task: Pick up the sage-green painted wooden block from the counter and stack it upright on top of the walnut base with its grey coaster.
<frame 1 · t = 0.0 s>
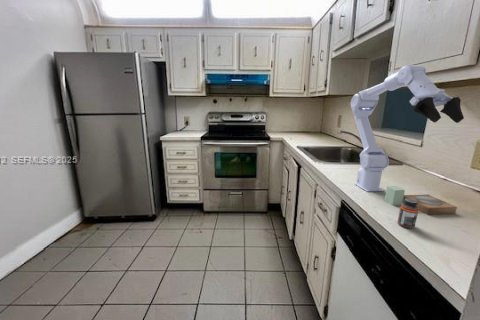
hand: (449, 120, 67), 32 cm above the worktop, tool tilted 50°, fingers open, 7 cm apart
walnut base: (426, 207, 84), on the worktop
supplement bottle: (405, 225, 71), on the worktop
sage block: (392, 202, 87), on the worktop
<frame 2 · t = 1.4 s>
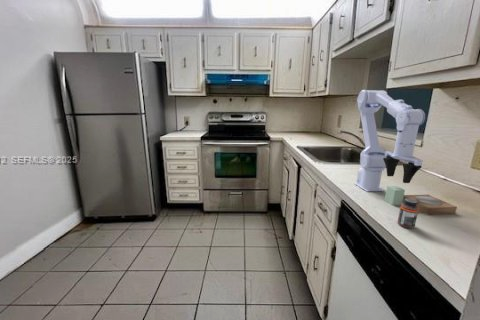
hand: (397, 179, 85), 9 cm above the worktop, tool pointing down, fingers open, 7 cm apart
nothing on the worktop moved.
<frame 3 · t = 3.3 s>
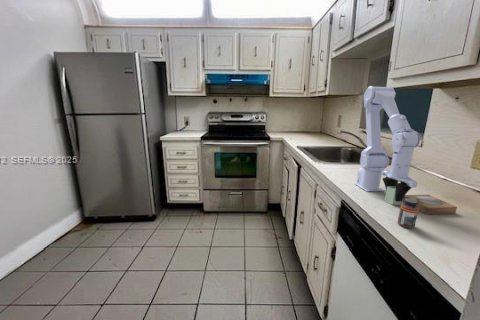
hand: (393, 198, 87), 2 cm above the worktop, tool pointing down, fingers closed on sage block, 4 cm apart
sage block: (392, 202, 87), on the worktop, touching gripper
everything else where it was.
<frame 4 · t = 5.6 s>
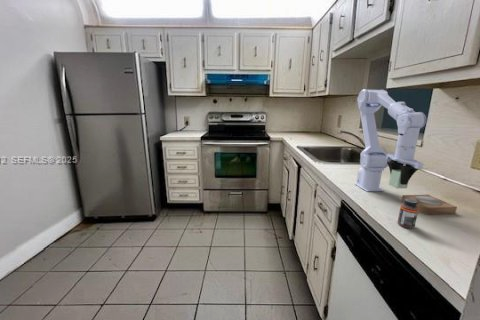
hand: (398, 182, 85), 8 cm above the worktop, tool pointing down, fingers closed on sage block, 4 cm apart
sage block: (397, 186, 86), point 7 cm above the worktop, touching gripper
everything else where it was.
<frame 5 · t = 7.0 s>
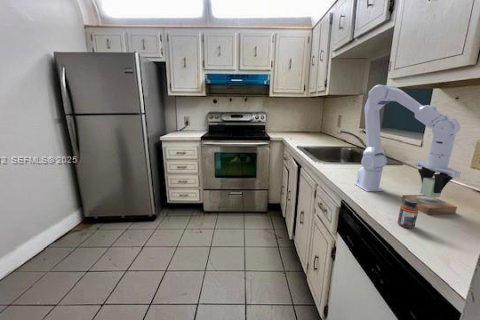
hand: (431, 190, 83), 7 cm above the worktop, tool pointing down, fingers closed on sage block, 4 cm apart
sage block: (429, 194, 83), point 5 cm above the worktop, touching gripper
everything else where it was.
when the fingers open (5 cm above the worktop, at t = 8.1 s): sage block stays where it is, resting on walnut base.
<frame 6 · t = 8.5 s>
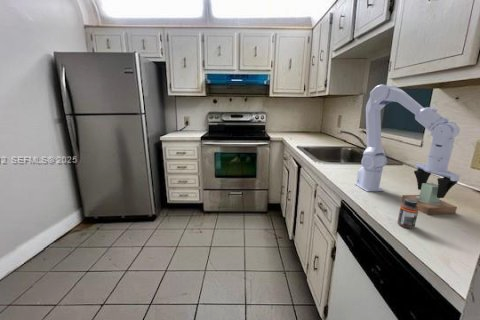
hand: (430, 193, 83), 5 cm above the worktop, tool pointing down, fingers open, 7 cm apart
sage block: (428, 200, 83), point 3 cm above the worktop, touching walnut base
everything else where it was.
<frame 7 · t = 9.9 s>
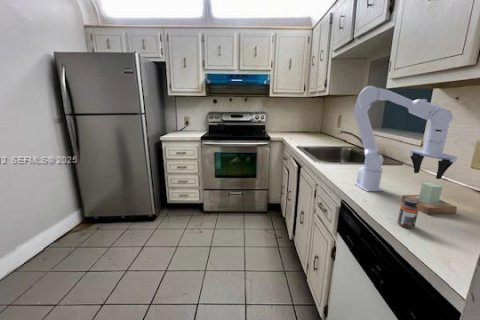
hand: (427, 175, 89), 10 cm above the worktop, tool pointing down, fingers open, 7 cm apart
nothing on the worktop moved.
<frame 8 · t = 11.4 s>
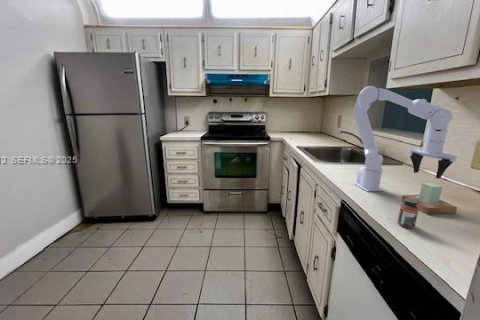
hand: (426, 175, 90), 10 cm above the worktop, tool pointing down, fingers open, 7 cm apart
nothing on the worktop moved.
at the end: sage block 0.0 cm off-centre on the walnut base, point 2.7 cm above the walnut base's base; sage block tilted 0°; the gripper is holding nothing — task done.
